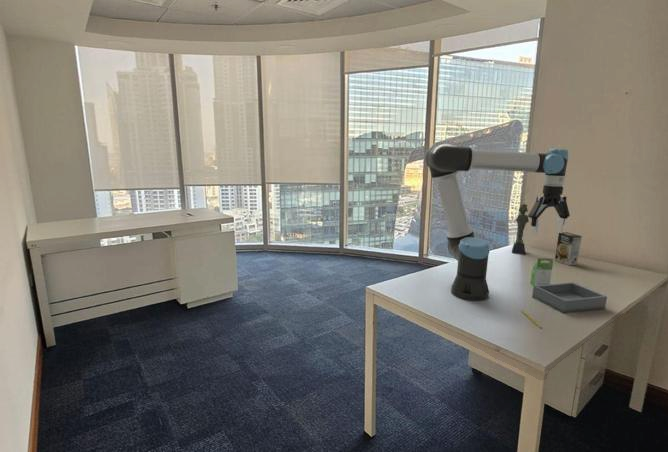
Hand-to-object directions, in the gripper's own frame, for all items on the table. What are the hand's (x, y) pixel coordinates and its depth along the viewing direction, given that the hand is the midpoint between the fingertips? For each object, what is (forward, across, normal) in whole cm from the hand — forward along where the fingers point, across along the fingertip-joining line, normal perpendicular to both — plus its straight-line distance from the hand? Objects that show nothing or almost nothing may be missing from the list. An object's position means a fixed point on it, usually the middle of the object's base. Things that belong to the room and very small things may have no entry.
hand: (546, 233), depth 168 cm
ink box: (+25, 0, 0) cm, 25 cm away
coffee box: (+24, +41, +25) cm, 54 cm away
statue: (+24, +30, +48) cm, 62 cm away
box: (+24, -4, -19) cm, 31 cm away
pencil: (+25, -30, -29) cm, 49 cm away
